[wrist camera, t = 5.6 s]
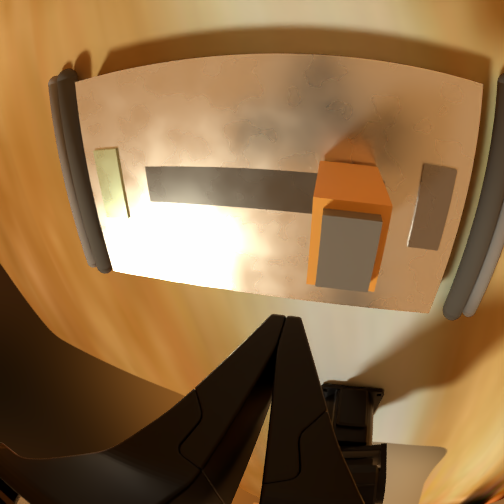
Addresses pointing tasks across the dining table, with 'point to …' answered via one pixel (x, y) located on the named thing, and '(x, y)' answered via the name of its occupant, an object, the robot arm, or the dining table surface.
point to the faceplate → (275, 168)
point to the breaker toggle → (348, 227)
